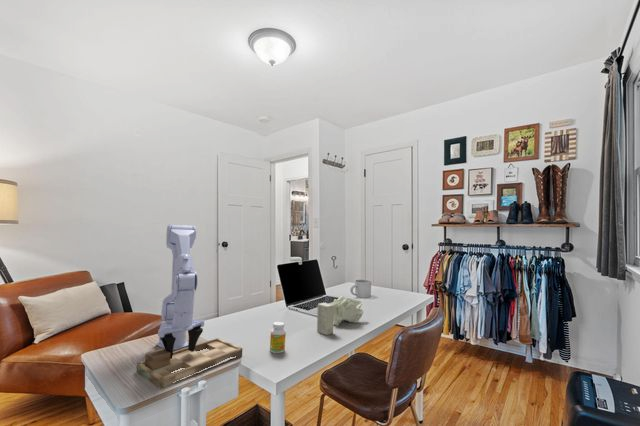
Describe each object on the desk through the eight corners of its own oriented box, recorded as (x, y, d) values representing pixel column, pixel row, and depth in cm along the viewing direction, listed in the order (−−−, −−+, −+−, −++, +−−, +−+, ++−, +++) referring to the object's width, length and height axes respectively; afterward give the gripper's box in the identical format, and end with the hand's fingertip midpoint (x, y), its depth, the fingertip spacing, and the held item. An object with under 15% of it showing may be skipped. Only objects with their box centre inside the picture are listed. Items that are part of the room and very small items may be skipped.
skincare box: (333, 333, 132) (334, 305, 133) (326, 335, 129) (327, 306, 129) (322, 329, 136) (324, 302, 137) (315, 331, 133) (317, 303, 134)
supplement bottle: (270, 354, 107) (272, 326, 108) (268, 348, 113) (270, 321, 113) (285, 353, 109) (287, 325, 109) (283, 347, 114) (284, 320, 115)
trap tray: (136, 372, 90) (137, 363, 90) (216, 345, 113) (217, 337, 113) (160, 388, 82) (161, 378, 82) (242, 355, 105) (242, 348, 105)
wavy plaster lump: (345, 332, 153) (350, 302, 161) (364, 333, 144) (368, 300, 152) (318, 322, 144) (325, 290, 152) (337, 322, 135) (343, 288, 143)
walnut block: (144, 365, 90) (145, 353, 90) (161, 359, 94) (161, 348, 94) (152, 370, 87) (153, 358, 87) (169, 364, 91) (170, 352, 91)
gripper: (168, 318, 89) (164, 365, 88) (210, 309, 101) (208, 350, 100) (155, 313, 93) (152, 358, 92) (198, 305, 105) (195, 345, 104)
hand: (180, 354), depth 97 cm, fingers open, 7 cm apart
